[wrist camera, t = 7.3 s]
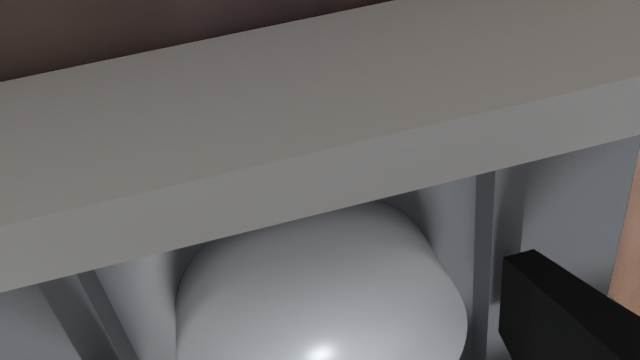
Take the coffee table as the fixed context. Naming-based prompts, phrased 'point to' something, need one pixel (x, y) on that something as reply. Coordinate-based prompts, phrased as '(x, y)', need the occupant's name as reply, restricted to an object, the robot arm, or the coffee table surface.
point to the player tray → (315, 158)
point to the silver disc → (321, 293)
